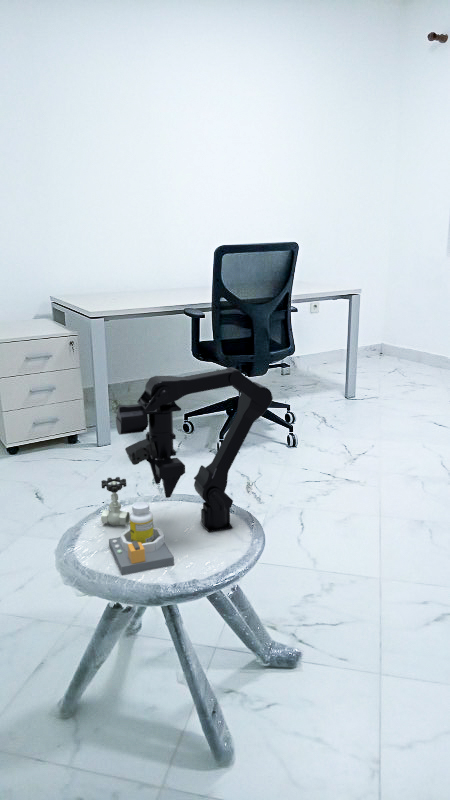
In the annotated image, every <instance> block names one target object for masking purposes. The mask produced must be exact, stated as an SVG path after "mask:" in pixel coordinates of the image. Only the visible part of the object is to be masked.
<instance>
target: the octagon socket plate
mask: <svg viewBox="0 0 450 800" xmlns="http://www.w3.org/2000/svg"><path fill="white" fill-rule="evenodd" d="M153 533H154V541H153V542H149V543H143V544H142V545H143V547H144V549H145V561H144V562H139V563H133V564H132V563H131V561H130V559H129V557H128V544H132V542H131V534H130V528H127V529H126V530H125V531H124V532H122V533H121V534H120V535H119V537H112V538H108V548H109V550H110V552H111V554H112V556H113V558H114V561H115V563H116V566H117V568H118V570H119V571H120V574H121V576H125V575H130V574H134V573H135V574H136V573H141V572H144V571H151V570H156V569H159V568H164V567H165V568H167V567H169V566H170V567H172V566H175V557H174V555H173V554H172V552H171V551H170V548H169V547H168V546H167V544H166V542H165V535H164V533H163V531H162V530H161V529H160V528H159V527H155V526H153Z"/></svg>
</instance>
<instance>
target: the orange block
mask: <svg viewBox="0 0 450 800" xmlns="http://www.w3.org/2000/svg"><path fill="white" fill-rule="evenodd" d="M128 557H129V559H130V561H131V563H132V564H133V563H139V562H144V561H145V549H144V547H143V545H142V543H141V542H137V541H132V544H128Z"/></svg>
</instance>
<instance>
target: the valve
mask: <svg viewBox="0 0 450 800" xmlns="http://www.w3.org/2000/svg"><path fill="white" fill-rule="evenodd" d="M106 479H107V480H106ZM106 479H102V480H101V489H105V488H106V491H107V492H110V493H111V494H110V500H111V502H110V503H109V504H108V506H109V507H108V508H109V509H103V510H102V511H101V514H100V515H101V516H100V521H101V523H102V524H108V525H111V526H113V527H115V526H116V527H117V526H121V525H122V526H128V525H130V515H131V512H129V511H122V510H121V508H122V504H121V502H119V494H118V492H119V491H121V490H122V489H123V488H126V487H127V479H126V478H122V479H121V477H120V476H116V477H115V478H112V477H107V478H106Z"/></svg>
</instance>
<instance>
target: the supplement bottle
mask: <svg viewBox="0 0 450 800" xmlns="http://www.w3.org/2000/svg"><path fill="white" fill-rule="evenodd" d="M131 511H132V512H130V521H129V529H130V534H131V542H132V541H137V542H141V543H142V544H143V543H149V542H153V541H154V533H153V527H154V518H153V517H154V516H153V513H152V512H151V511H150V504H149V503H148V502H147V501H136V502H134V503H133V504H132V505H131Z"/></svg>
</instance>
